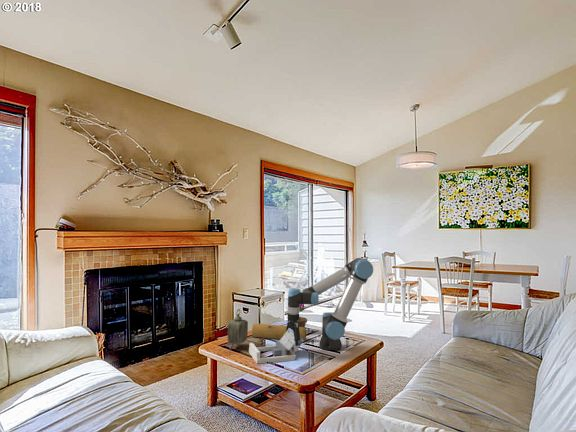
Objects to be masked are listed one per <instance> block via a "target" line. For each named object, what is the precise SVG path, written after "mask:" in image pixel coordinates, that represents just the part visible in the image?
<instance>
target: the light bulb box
mask: <svg viewBox="0 0 576 432" xmlns="http://www.w3.org/2000/svg"><path fill="white" fill-rule="evenodd" d="M294 339H295V338H294V333H293V330H292V329H290V328H289V329H288V330H287V332H286V333H285V334H284V336H283V337H282V338H281V339H279V340H278V341H279V342H280V343H281V344H282V345H284V346H285V347H286V348H287V349H288V350H289V351H290V352H291V353H292V354H293V355H295V353H296V352H297V351H294ZM303 342H305V341H304V340H303V339H302V338H301V337H300V340H299V345H298V349H299V347H301V345H302V344H303Z"/></svg>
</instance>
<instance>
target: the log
mask: <svg viewBox="0 0 576 432" xmlns="http://www.w3.org/2000/svg"><path fill="white" fill-rule="evenodd" d="M286 328H287V325H278V324H268V323H253V324H252V328H251V337H253V338H260V339H261V338H262V339H271V340H272V339H273V340H281V338H282V337H283V336H284V334H285V333H286ZM299 332H300V337H301V338H302V339H303V340H304V341H303V342H306V340H307V328H306V327H305V328H304V327H299Z"/></svg>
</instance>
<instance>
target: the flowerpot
mask: <svg viewBox="0 0 576 432" xmlns="http://www.w3.org/2000/svg"><path fill="white" fill-rule="evenodd" d="M303 311H305V304H300V311H299V313H301V312H303ZM307 322H308V319H307V317H303V316H299V320H297V324H299V327H304V328H306V324H307Z"/></svg>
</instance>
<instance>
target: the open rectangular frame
mask: <svg viewBox="0 0 576 432" xmlns="http://www.w3.org/2000/svg"><path fill="white" fill-rule="evenodd" d="M248 344H249V347H248V353H249V354H250V356H251V357H252V359H253V360H254V361H255V362H256V364H257V363H259V364H267V362H268V363H274V362H276V363H277V362H284V361H285V362H286V361H292V360H293V361H294V360H296V357H297V356H296V354H293V353H292V352H290V351H289V350H288V349H287V348H286V347H285V346H284V345H283V346H284V347H285V348H286V349H287V356H281V355H277V356H271V357H270V356H269V357H261V352H268V351H273V349H275V348H276V345H267V346H257V347H256V345H255V344H254V342H250V343H248Z"/></svg>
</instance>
